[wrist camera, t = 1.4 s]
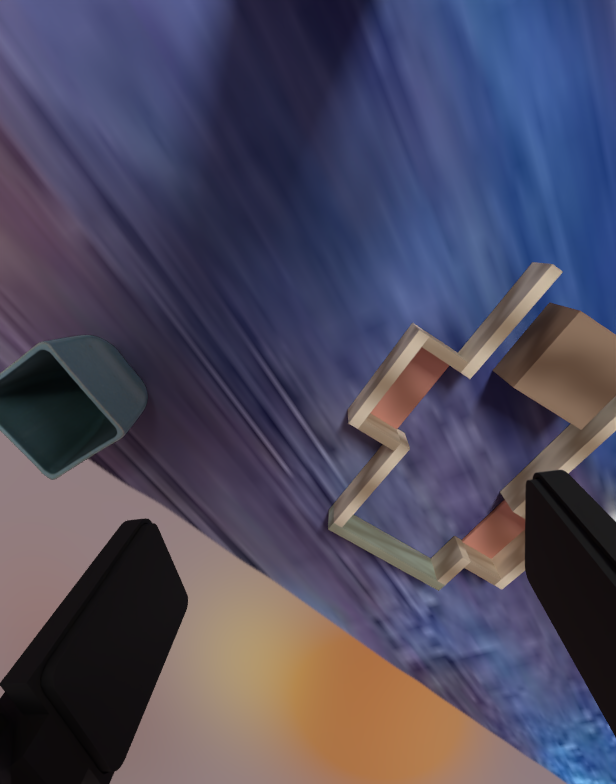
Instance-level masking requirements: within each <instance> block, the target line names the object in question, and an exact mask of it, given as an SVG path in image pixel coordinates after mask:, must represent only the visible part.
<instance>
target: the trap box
mask: <svg viewBox="0 0 616 784" xmlns="http://www.w3.org/2000/svg"><path fill="white" fill-rule="evenodd" d="M561 273H562V271H561V270H560V269H558V268H557V267H556V266H554V265H553V264H545V263H534V262H533V263H532V264H531V265H530V266H529V267H528V269H527V270H526V271H525V272H524V274H523V275H522V276H521V277H520V278H519V280H518V281H517V282H516V283H515V284H514V286H513V287H512V288H511V289H510V291H509V292H508V293H507V294H506V295H505V297H504V298H503V299H502V300H501V301H500V303H499V304H498V305H497V306H496V308H495V309H494V310H493V311H492V312H491V314H490V315H489V316H488V317H487V318H486V320H485V321H484V322H483V323H482V325H481V326H480V327H479V328H478V329H477V331H476V332H475V333H474V334H473V335H472V337H471V338H470V339H469V340H468V342H467V343H466V344H465V345H464V346H463V348H462V349H461V350H460V351H459V352H458V353H457V352H456V351H454V350H453V349H451V348H450V347H448V346H447V345H445V344H444V343H442V342H441V341H439V340H438V339H436V338H435V337H433V336H432V335H430V334H429V333H427V332H426V331H424V330H423V329H421V328H420V327H418V326H417V325H415V324H414V323H412V324H411V325H410V327H409V328H408V329H407V331H406V332H405V333H404V335H403V336H402V338H401V339H400V340H399V342H398V343H397V344H396V346H395V347H394V348H393V350H392V351H391V352H390V354H389V355H388V356H387V358H386V359H385V360H384V362H383V363H382V364H381V366H380V367H379V368H378V370H377V371H376V372H375V374H374V375H373V376H372V378H371V379H370V380H369V382H368V383H367V384H366V386H365V387H364V389H363V390H362V391H361V393H360V394H359V395H358V397H357V398H356V399H355V401H354V402H353V403H352V405H351V406H350V407H349V409H348V423H349V424H350V425H352V426H354V427H355V428H357V429H358V430H360V431H362V432H363V433H365V434H367V435H368V436H370V437H372V438H373V439H375V440H377V441H378V442H380V443H382V444H383V445H382V446H381V447H380V448H379V450H378V451H377V452H376V453H375V454H374V456H373V457H372V458H371V459H370V460H369V462H368V463H367V464H366V465H365V467H364V468H363V469H362V470H361V471H360V473H359V474H358V475H357V476H356V477H355V479H354V480H353V481H352V482H351V484H350V485H349V486H348V487H347V488H346V490H345V491H344V492H343V493H342V494H341V496H340V497H339V498H338V499H337V501H336V502H335V503H334V504H333V505H332V507H331V508H330V509H329V520H328V530H330V531H332V532H334V533H336V534H337V535H339V536H341V537H343V538H345V539H346V540H348V541H350V542H352V543H354V544H355V545H357V546H359V547H361V548H363V549H364V550H366V551H368V552H370V553H372V554H373V555H375V556H377V557H379V558H381V559H382V560H384V561H386V562H388V563H390V564H391V565H393V566H395V567H397V568H399V569H400V570H402V571H404V572H406V573H408V574H409V575H411V576H413V577H415V578H417V579H418V580H420V581H422V582H424V583H426V584H427V585H429V586H431V587H433V588H435V589H436V590H438V591H439V590H440V589H441V588H442V587H443V586H445V585H446V584H447V583H448V582H449V581H450V580H451V579H452V578H453V577H455V576H456V575H457V574H458V573H459V572H460V571H461V570H462V569H463V568H465V569H467V570H469V571H470V572H472V573H474V574H476V575H477V576H479V577H481V578H483V579H484V580H486V581H488V582H490V583H491V584H493V585H495V586H497V587H498V588H500V589H503V588H504V587H506V586H507V585H508V584H509V583H510V582H512V581H513V580H514V579H515V578H516V577H518V576H519V575H520V574H521V573H522V572H524V571H525V490H526V481H527V480H532V479H533V475H534V473H536V472H545V471H553V470H564V471H566V472H567V473H569V472H571V471H572V470H573V469H574V468H575V467H576V466H577V465H578V464H579V463H581V462H582V461H583V460H584V459H585V458H586V457H587V456H588V455H589V454H590V453H592V452H593V451H594V450H595V449H596V448H597V447H598V446H599V445H600V444H602V443H603V442H604V441H605V440H606V439H607V438H608V437H609V436H610V435H611V434H613V433H614V432H615V431H616V396H615V397H614V398H613V399H612V400H611V401H610V402H609V403H608V404H607V405H606V406H605V407H604V408H603V409H602V410H601V411H600V412H599V413H598V414H597V415H596V416H595V417H594V418H593V419H592V420H591V421H590V422H589V423H588V424H587V425H586V426H585V427H584V428H583V429H582V430H581V429H579V428H577V427H576V426H574V425H573V424H570V425H569V426H568V427H567V428H566V429H565V430H564V431H563V432H562V433H561V434H560V435H559V436H558V437H557V438H556V439H555V440H553V441H552V442H551V443H550V444H549V445H548V446H547V447H546V448H545V449H544V450H543V451H542V452H541V453H540V454H539V455H538V456H537V457H536V458H535V459H534V460H533V461H532V462H531V463H530V464H529V465H528V466H526V467H525V468H524V469H523V470H522V471H521V472H520V473H519V474H518V475H517V476H516V477H515V478H514V479H513V480H512V481H511V482H510V483H509V484H508V485H507V486H506V487H505V488H504V489H503V490H502V491H500V493H501V494H502V496H503V497H504V499H505V500H504V501H502V502H501V503H500V504H499V505H498V506H497V507H496V508H495V509H494V510H493V511H492V512H491V513H490V514H489V515H488V516H487V517H486V518H484V519H483V520H482V521H481V522H480V523H479V524H478V525H477V526H476V527H475V528H474V529H473V530H472V531H471V532H470V533H469V534H468V535H467V536H465V537H464V538H463V539H462V540H461V539H459V538H457V537H455V536H454V537H453V538H452V539H451V540H450V541H449V542H447V543H446V544H445V545H444V546H443V547H442V548H441V549H440V550H439V551H438V552H437V553H436V554H435V555H434V556H433V557H432V558H429V557H427V556H425V555H423V554H422V553H420V552H418V551H416V550H415V549H413V548H411V547H409V546H408V545H406V544H404V543H402V542H401V541H399V540H397V539H395V538H394V537H392V536H390V535H388V534H387V533H385V532H383V531H381V530H379V529H378V528H376V527H374V526H372V525H371V524H369V523H367V522H365V521H364V520H362V519H360V518H358V517H357V516H355V515H353V514H354V513H355V512H356V511H357V510H358V508H359V507H360V506H361V505H362V504H363V503H364V501H365V500H366V499H367V498H368V497H369V496H370V495H371V493H372V492H373V491H374V490H375V489H376V488H377V486H378V485H379V484H380V483H381V482H382V481H383V479H384V478H385V477H386V476H387V475H388V474H389V473H390V471H391V470H392V469H393V468H394V467H395V466H396V464H397V463H398V462H399V461H400V460H401V459H402V457H403V456H404V455H405V454H406V453H407V452H408V451H409V449H410V447H409V444H408V441H407V439H406V436H405V433H404V432H402V431H400V430H399V429H397V428H398V427H399V426H400V425H401V424H402V422H403V421H404V420H405V419H406V418H407V416H408V415H409V414H410V413H411V412H412V410H413V409H414V408H415V407H416V405H417V404H418V403H419V402H420V401H421V399H422V398H423V397H424V396H425V395H426V393H427V392H428V391H429V390H430V388H431V387H432V386H433V385H434V384H435V382H436V381H437V380H438V379H439V378H440V376H441V375H442V374H443V373H444V372H445V370H446V369H447V368H448V367H449V365H450V366H451V367H453V368H454V369H456V370H457V371H459V372H460V373H462V374H463V375H465V376H466V377H468V378H469V379H471V378H472V376H473V375H474V374H475V373H476V372H477V371H478V369H479V368H480V367H481V366H482V365H483V364H484V363H485V361H486V360H487V359H488V358H489V357H490V356H491V354H492V353H493V352H494V351H495V350H496V349H497V348H498V346H499V345H500V344H501V343H502V342H503V341H504V339H505V338H506V337H507V336H508V335H509V334H510V332H511V331H512V330H513V329H514V328H515V327H516V326H517V324H518V323H519V322H520V321H521V320H522V319H523V317H524V316H525V315H526V314H527V313H528V312H529V310H530V309H531V308H532V307H533V306H534V305H535V304H536V302H537V301H538V300H539V299H540V298H541V297H542V295H543V294H544V293H545V292H546V291H547V290H548V288H549V287H550V286H551V285H552V284H553V283H554V282H555V280H556V279H557V278H558V277H559V276H560V275H561Z"/></svg>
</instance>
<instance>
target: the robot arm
mask: <svg viewBox="0 0 616 784" xmlns="http://www.w3.org/2000/svg"><path fill="white" fill-rule="evenodd" d="M525 571H526V575H527V578H528V580H529V582H530V584H531V586H532V588H533V590H534V592H535V593H536V595H537V597H538V599H539V601H540V602H541V604H542V606H543V608H544V610H545V611H546V613H547V615H548V617H549V619H550V620H551V622H552V624H553V626H554V627H555V629H556V631H557V633H558V635H559V636H560V638H561V640H562V642H563V644H564V645H565V647H566V649H567V651H568V653H569V654H570V656H571V658H572V660H573V662H574V663H575V665H576V667H577V669H578V671H579V672H580V674H581V676H582V678H583V679H584V681H585V683H586V685H587V687H588V688H589V690H590V692H591V694H592V696H593V697H594V699H595V701H596V703H597V705H598V706H599V708H600V710H601V712H602V714H603V715H604V717H605V719H606V721H607V722H608V724H609V726H610V728H611V730H612V731H613V733H614V735H615V737H616V522H615V521H614V520H613V519H612V518H611V517H610V516H609V515H608V514H607V513H606V512H605V511H604V510H603V509H602V507H601V506H600V505H599V504H598V503H597V502H596V501H595V500H594V499H593V498H592V497H591V496H590V495H589V494H588V493H587V492H586V491H585V490H584V489H583V488H582V487H581V486H580V485H579V484H578V483H577V482H576V481H575V480H574V479H573V478H572V477H571V476H570V475H569V474H568V473H567V472H566V471H564V470H553V471H545V472H536V473H534V475H533V479H532V480H527V481H526V490H525ZM187 605H188V596H187V594H186V591H185V589H184V586H183V584H182V582H181V579H180V577H179V575H178V573H177V570H176V568H175V566H174V563H173V561H172V559H171V556H170V554H169V552H168V550H167V547H166V545H165V543H164V540H163V538H162V536H161V533H160V531H159V529H158V527H157V525H156V524H153V523H152V522H151V521H150V520H149V519H137V520H129V521H125V522H124V523H123V524H122V525H121V526H120V527H119V529H118V530H117V531H116V532H115V534H114V535H113V536H112V538H111V539H110V540H109V541H108V543H107V544H106V545H105V547H104V548H103V549H102V551H101V552H100V553H99V554H98V556H97V557H96V558H95V560H94V561H93V562H92V564H91V565H90V566H89V568H88V569H87V570H86V571H85V573H84V574H83V575H82V577H81V578H80V579H79V581H78V582H77V584H76V585H75V586H74V587H73V588H72V590H71V591H70V592H69V594H68V595H67V596H66V598H65V599H64V600H63V602H62V603H61V604H60V605H59V607H58V608H57V609H56V611H55V612H54V613H53V615H52V616H51V617H50V619H49V620H48V621H47V623H46V624H45V625H44V626H43V628H42V629H41V630H40V632H39V633H38V634H37V636H36V637H35V638H34V640H33V641H32V642H31V643H30V645H29V646H28V647H27V649H26V650H25V651H24V653H23V654H22V655H21V657H20V658H19V659H18V660H17V662H16V663H15V664H14V666H13V667H12V668H11V670H10V671H9V672H8V674H7V675H6V676H5V677H4V679H3V680H2V681H1V683H0V686H1V687H2V688H3V690H4V691H5V693H4V694H3V695H2V697H1V698H0V784H109V783H110V781H111V779H112V776H113V774H114V771H117V770H118V769H119V768H120V767H121V765H122V764H123V762H124V760H125V758H126V755H127V753H128V750H129V747H130V746H131V743H132V741H133V738H134V736H135V733H136V731H137V729H138V726H139V724H140V721H141V719H142V716H143V714H144V711H145V709H146V706H147V704H148V702H149V699H150V697H151V695H152V692H153V690H154V687H155V685H156V682H157V680H158V677H159V675H160V673H161V670H162V668H163V665H164V663H165V661H166V658H167V656H168V653H169V651H170V649H171V646H172V644H173V641H174V639H175V636H176V634H177V631H178V629H179V627H180V624H181V622H182V619H183V617H184V614H185V612H186V609H187Z"/></svg>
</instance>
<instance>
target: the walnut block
mask: <svg viewBox="0 0 616 784" xmlns="http://www.w3.org/2000/svg"><path fill="white" fill-rule="evenodd" d="M493 371H494V372H495V373H496V374H497V375H499V376H500V377H501V378H502V379H504V380H505V381H506V382H507V383H508V384H510V385H511V386H512V387H513V388H515V389H517V390H518V391H520V392H521V393H523V394H525V395H526V396H528V397H529V398H531V399H533V400H534V401H536V402H537V403H539V404H541V405H542V406H544V407H545V408H547V409H549V410H550V411H552V412H553V413H555V414H557V415H558V416H560V417H561V418H563V419H565V420H566V421H568V422H569V423H571V424H573V425H574V426H576V427H577V428H579V429H581V430H582V429H583V428H584V427H585V426H586V425H587V424H588V423H589V422H590V421H591V420H592V419H593V418H594V417H595V416H596V415H597V414H598V413H599V412H600V411H601V410H602V409H603V408H604V407H605V406H606V405H607V404H608V403H609V402H610V401H611V400H612V399H613V398H614V397H615V396H616V335H615V334H614V333H612V332H611V331H609V330H608V329H606V328H605V327H603V326H602V325H600V324H599V323H598V322H596V321H595V320H593V319H592V318H590V317H589V316H587V315H586V314H584V313H583V312H581V311H579V310H575V309H571V308H568V307H564V306H560V305H557V304H553V303H549V304H548V305H547V306H546V307H545V308H544V310H543V311H542V312H541V313H540V314H539V316H538V317H537V318H536V319H535V320H534V322H533V323H532V324H531V325H530V326H529V328H528V329H527V330H526V331H525V332H524V333H523V335H522V336H521V337H520V338H519V339H518V341H517V342H516V343H515V344H514V345H513V347H512V348H511V349H510V350H509V351H508V353H507V354H506V355H505V356H504V357H503V359H502V360H501V361H500V362H499V363H498V364H497V366H496V367H495V368H494V369H493Z"/></svg>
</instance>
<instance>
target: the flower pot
mask: <svg viewBox="0 0 616 784" xmlns="http://www.w3.org/2000/svg"><path fill="white" fill-rule="evenodd" d="M147 399H148V395H147V390H146V387H145V384H144V383H143V381H142V380H141V379H140V378H139V376H138V375H137V374H136V373H135V372H134V370H133V369H132V368H131V367H130V366H129V364H128V363H127V362H126V361H125V359H124V358H123V357H122V356H121V354H120V353H119V352H118V351H117V349H116V348H115V347H114V346H113V345H111V344H110V343H109V342H107V341H105V340H104V339H102V338H99V337H96V336H92V335H79V336H72V337H66V338H60V339H55V340H49V341H44V342H40V343H38V344H37V345H36V346H34V347H33V348H32V349H30V350H29V351H28V352H27V353H26V354H24V355H23V356H22V357H21V358H19V359H18V360H17V361H16V362H14V363H13V364H12V365H10V366H9V367H8V368H6V369H5V370H4V371H2V372H1V373H0V431H1V432H2V433H3V434H4V435H5V436H6V437H7V438H8V439H9V440H10V441H11V442H13V444H14V445H15V446H16V447H17V448H18V449H19V450H20V451H21V452H22V453H23V454H24V455H25V456H27V458H28V459H29V460H30V461H31V462H32V463H33V464H34V465H35V466H36V467H37V468H38V469H39V470H40V471H41V472H42V473H43V474H44V475H45V476H47V477H48V478H49V479H52V480H54V479H57V478H58V477H60V476H61V475H62V474H64V473H66V472H67V471H69V470H71V469H72V468H74V467H75V466H77V465H78V464H80V463H82V462H83V461H85V460H87V459H88V458H90V457H91V456H93V455H94V454H96V453H98V452H99V451H101V450H103V449H104V448H106V447H108V446H109V445H111V444H113V443H115V442H117V441H118V440H120V439H121V438H123V437H124V436H125V434H126V433H127V432H128V431H129V429H130V428H131V427H132V426H133V424H134V423H135V422H136V420H137V419H138V418H139V416H140V415H141V414H142V412H143V411H144V409H145V407H146V404H147Z"/></svg>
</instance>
